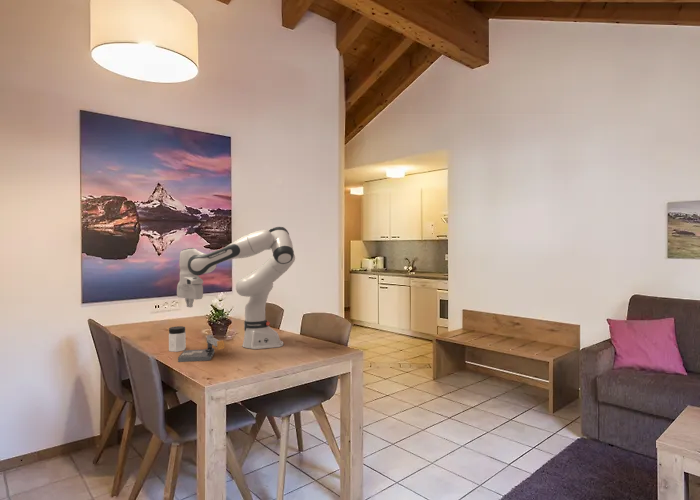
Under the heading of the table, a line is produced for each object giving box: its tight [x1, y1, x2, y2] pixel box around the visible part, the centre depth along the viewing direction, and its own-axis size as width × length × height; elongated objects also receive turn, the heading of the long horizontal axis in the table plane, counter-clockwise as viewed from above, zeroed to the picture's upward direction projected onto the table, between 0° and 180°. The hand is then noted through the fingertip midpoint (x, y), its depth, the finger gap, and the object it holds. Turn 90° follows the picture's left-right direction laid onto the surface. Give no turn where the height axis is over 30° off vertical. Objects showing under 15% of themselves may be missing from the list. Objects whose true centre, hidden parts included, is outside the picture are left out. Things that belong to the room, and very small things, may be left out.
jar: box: [168, 325, 187, 353], centre depth 237 cm, size 9×8×12 cm
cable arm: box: [206, 334, 225, 350], centre depth 222 cm, size 17×3×4 cm, turn 37°
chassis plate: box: [177, 342, 215, 363], centre depth 221 cm, size 15×15×6 cm
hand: (189, 307), depth 225 cm, fingers closed
